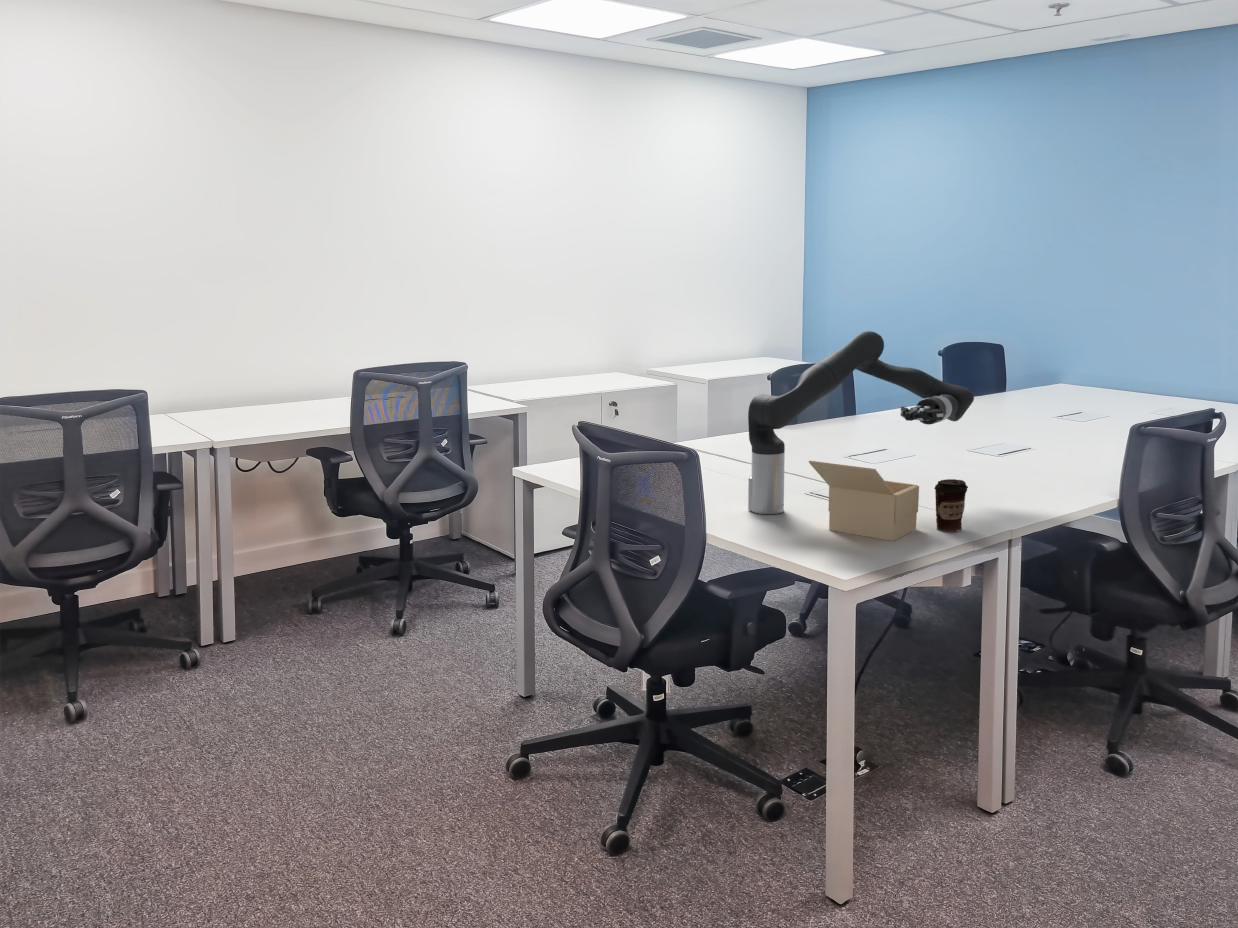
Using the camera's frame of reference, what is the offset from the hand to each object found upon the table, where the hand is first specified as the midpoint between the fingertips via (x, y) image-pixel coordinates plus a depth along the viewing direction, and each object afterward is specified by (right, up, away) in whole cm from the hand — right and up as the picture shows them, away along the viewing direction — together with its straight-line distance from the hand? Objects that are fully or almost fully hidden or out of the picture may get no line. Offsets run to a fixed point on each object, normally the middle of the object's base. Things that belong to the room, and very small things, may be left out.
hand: (908, 416), depth 275 cm
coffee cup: (+8, -30, -10) cm, 33 cm away
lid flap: (-20, -16, -22) cm, 34 cm away
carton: (-12, -30, -9) cm, 34 cm away
